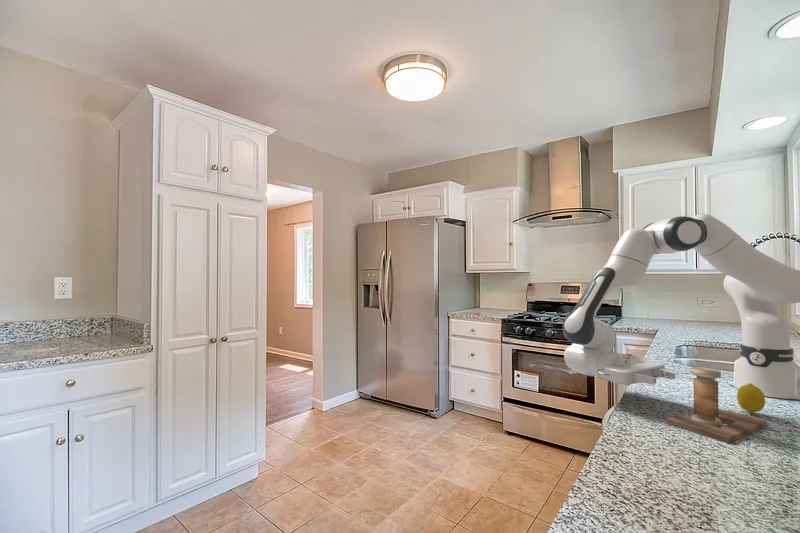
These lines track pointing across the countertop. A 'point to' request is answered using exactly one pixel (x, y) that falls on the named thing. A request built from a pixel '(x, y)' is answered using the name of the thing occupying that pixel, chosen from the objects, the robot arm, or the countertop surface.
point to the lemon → (750, 398)
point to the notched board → (729, 433)
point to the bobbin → (706, 396)
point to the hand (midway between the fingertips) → (664, 378)
